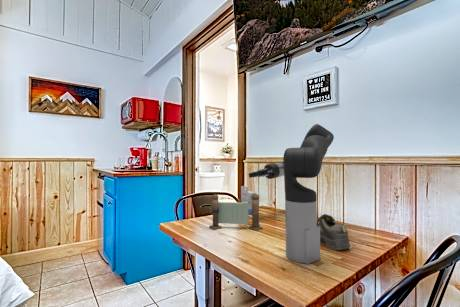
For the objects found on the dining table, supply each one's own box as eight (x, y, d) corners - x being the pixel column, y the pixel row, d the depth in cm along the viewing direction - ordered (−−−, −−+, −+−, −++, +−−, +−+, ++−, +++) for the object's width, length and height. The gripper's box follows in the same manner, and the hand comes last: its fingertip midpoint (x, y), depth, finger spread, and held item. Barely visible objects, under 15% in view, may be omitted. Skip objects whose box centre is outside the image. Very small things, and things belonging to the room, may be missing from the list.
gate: (248, 224, 110) (248, 201, 110) (247, 225, 108) (247, 202, 108) (215, 223, 113) (215, 200, 113) (214, 224, 111) (214, 201, 112)
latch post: (221, 228, 109) (221, 194, 109) (213, 229, 107) (213, 195, 107) (216, 226, 112) (216, 193, 113) (209, 227, 110) (208, 194, 110)
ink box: (256, 214, 136) (256, 186, 137) (248, 215, 134) (248, 187, 135) (248, 211, 144) (248, 185, 144) (241, 212, 142) (240, 185, 142)
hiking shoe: (320, 226, 103) (309, 202, 100) (362, 249, 83) (349, 220, 81) (303, 239, 101) (291, 215, 98) (341, 266, 81) (328, 236, 79)
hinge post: (262, 228, 108) (261, 193, 108) (255, 230, 105) (254, 194, 106) (256, 226, 111) (255, 192, 111) (249, 228, 109) (248, 193, 109)
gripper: (264, 165, 137) (239, 169, 127) (282, 161, 127) (257, 165, 116) (267, 179, 136) (242, 184, 126) (285, 175, 126) (260, 181, 115)
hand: (249, 175), depth 121 cm, fingers closed
